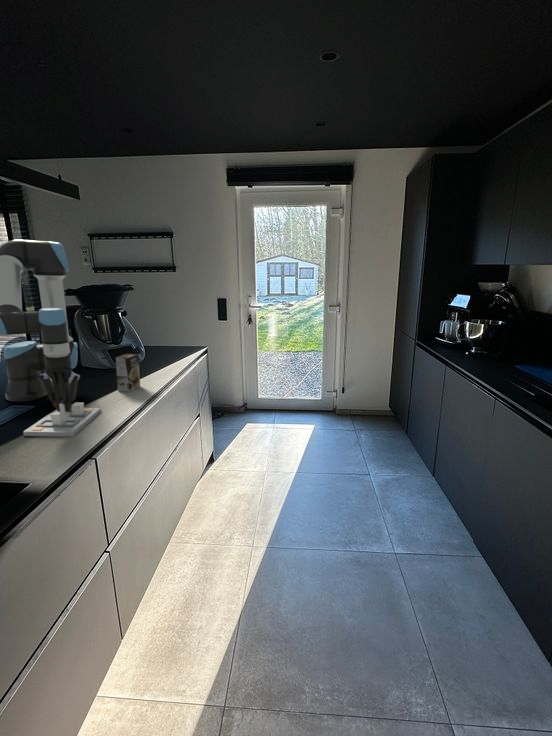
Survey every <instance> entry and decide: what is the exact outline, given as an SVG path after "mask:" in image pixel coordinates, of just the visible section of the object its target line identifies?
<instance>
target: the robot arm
mask: <svg viewBox="0 0 552 736" xmlns="http://www.w3.org/2000/svg"><path fill="white" fill-rule="evenodd" d="M24 271H32V274H33V277H35V278H36V279H37V280H38V288H39V296H40V303H41V308H40V309H39V310H38V311H23V300H22V299H23V298H22V297H23V296H22V294H23V293H22V279H21V278H22V277H21V274H23V272H24ZM67 272H70V267H69V262H68V259H67V255H66V251H65V248H64V245H63V244H62V243H61V242H58V241H57V242H56V241H51V240H48V241H47V240H32V239H31V240H30V239H19V238H18V239H12V240H8V241H7V242H5V243H3V244H1V245H0V336H9V335H11V336H12V335H13V336H14V335H28V334H29V335H30V334H32V335H33V334H35V335H36V334H41V340H42V341H41V344H38V343H37V341H35V340H28V341H21V342H20V341H19V342H16V343H12V344H9V345H6V346H5V348H4V349H3V359H4V362H5V369H6V374H7V381H8V382H7V385H6V388H5V393H4V394H5V399H6V400H7V401H9V402H14V403H15V402H20V403H21V402H29V401H34V400H38V399H42V398H44V397H48V399H49V401H50V402H51V403H52V402H56V403H57V408H56V409H57V410H58V412H60V415H61V421H63V422H66V421H67V420H68V419H70V417H69V411H70V410H71V408H72V406H71V405H70V402H71V403H72V402H74V401H75V400H76V399H77V398H76V397H77V392H78V387H79V386H78V384H79V380H80V378H81V377H82V376H81V374H80V373H79V374H77V373H75V371H74V370H73V369H74V368H76V367H77V365H78V364H77V363H78V351H79V350H78V349H79V348H78V347H79V346H78V343H77V342H74V338H73V337H72V336H70V334H69V326H68V325H69V324H68V318H67V309H66V301H65V292H64V281H63V280H64V278H66V277H67ZM41 372H44V373H41ZM49 377H50V378H51V379H52V383H51V380H50V378H49ZM70 377H71V379H72V381H71V387H70V392H69V378H70ZM52 384H53V385H52ZM53 386H54V388H53ZM62 395H63V396H62ZM62 401H63V402H62Z"/></svg>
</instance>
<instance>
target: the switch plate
mask: <svg viewBox="0 0 552 736" xmlns="http://www.w3.org/2000/svg"><path fill="white" fill-rule="evenodd" d="M101 409H102V408H101V407H84V410H85V413H83V414H82V415H73V414H72V407H71V410H70V411H69V417H70V419H68V420H67V421H66V422H65V423H64V424H62V425H52V419H51V414H52V413H54V412H55V411H58V410H57V408H56V409H55V410H53V411H52V412H50V413H49V414H47V415H45V416H44V417H42V418H41V419H39V420H38V421H36V422H35V423H34V424H32V425H31V426H29V427H28V428H26V429H25V430H23V432H22V433H23V437H27V436H28V437H71V438H72V437H74V436H75V435H76V434H78V433H79V432H80V431H81V430H82V429H83V428H84V427H85V426H87V425H88V423H90V422H91V421H92V420H94V419H95V417H97V416H98V415H99V414H100V413H102V412H101V411H102V410H101Z"/></svg>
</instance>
